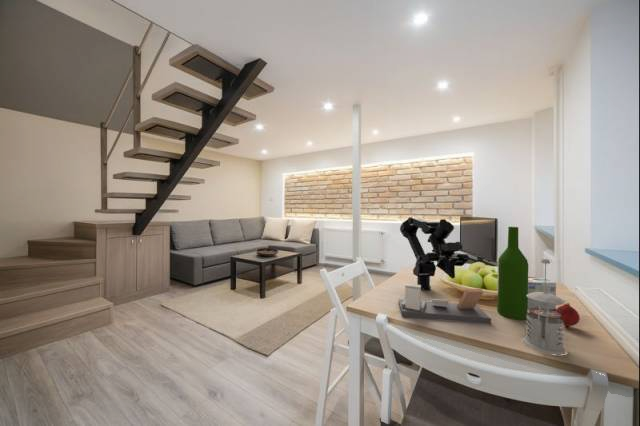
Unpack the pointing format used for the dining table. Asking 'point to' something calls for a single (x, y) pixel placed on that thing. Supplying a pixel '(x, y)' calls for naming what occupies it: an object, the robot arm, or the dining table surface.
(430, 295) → the dining table surface
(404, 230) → the robot arm
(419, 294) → the slider button
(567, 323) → the onion
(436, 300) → the rocker switch
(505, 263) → the wine bottle
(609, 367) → the dining table surface
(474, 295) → the tan rectangular board
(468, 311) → the control console
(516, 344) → the dining table surface
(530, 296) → the french press
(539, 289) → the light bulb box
